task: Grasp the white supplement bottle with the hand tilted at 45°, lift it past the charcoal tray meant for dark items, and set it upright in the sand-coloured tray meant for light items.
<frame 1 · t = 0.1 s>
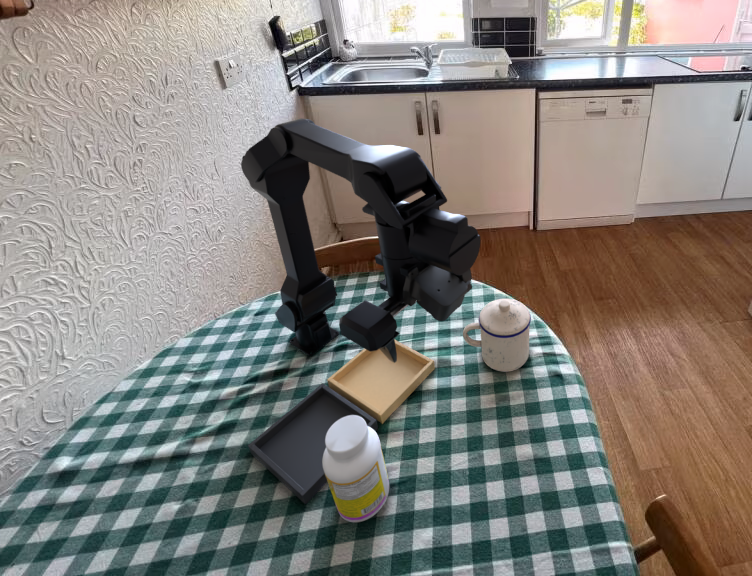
hand: (416, 339, 59), 15 cm above the table, tool pointing down, fingers open, 9 cm apart
dark tray: (316, 440, 61), on the table
light tray: (383, 377, 71), on the table
supplement bottle: (364, 497, 54), on the table
teacup with lid: (497, 354, 76), on the table
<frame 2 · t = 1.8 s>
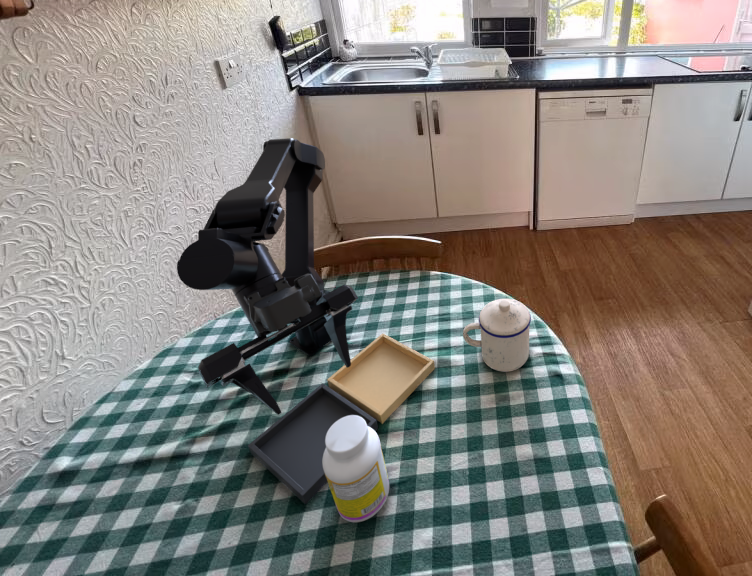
hand: (316, 388, 53), 13 cm above the table, tool tilted 45°, fingers open, 9 cm apart
nothing on the table moved.
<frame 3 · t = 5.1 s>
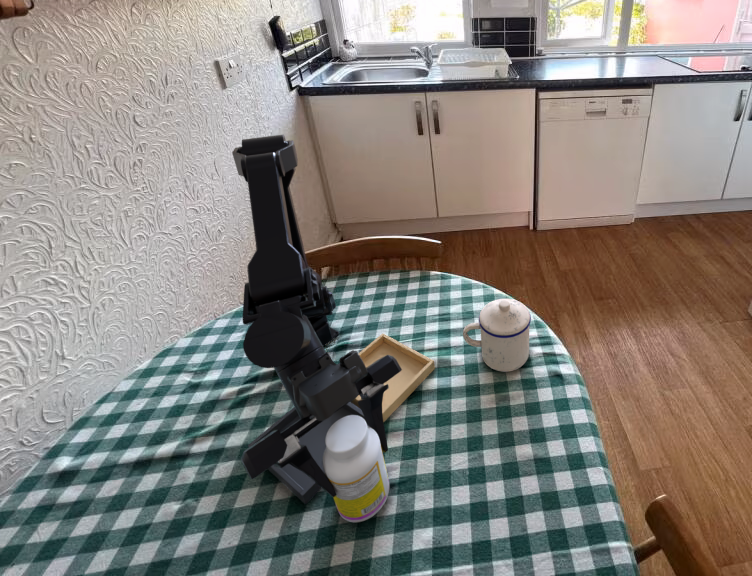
hand: (361, 472, 50), 7 cm above the table, tool tilted 45°, fingers closed on supplement bottle, 6 cm apart
supplement bottle: (364, 497, 54), on the table, touching gripper
everything else where it was.
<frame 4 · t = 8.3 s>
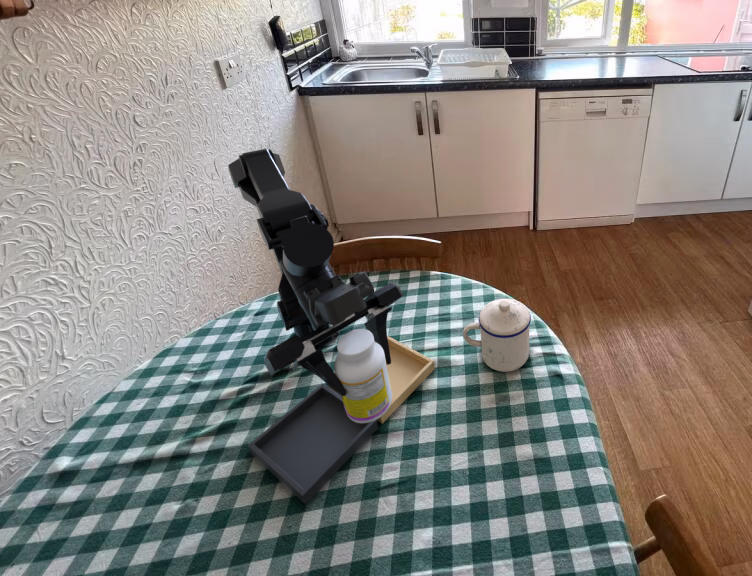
hand: (367, 379, 57), 11 cm above the table, tool tilted 45°, fingers closed on supplement bottle, 6 cm apart
supplement bottle: (369, 405, 61), point 4 cm above the table, touching gripper
everything else where it was.
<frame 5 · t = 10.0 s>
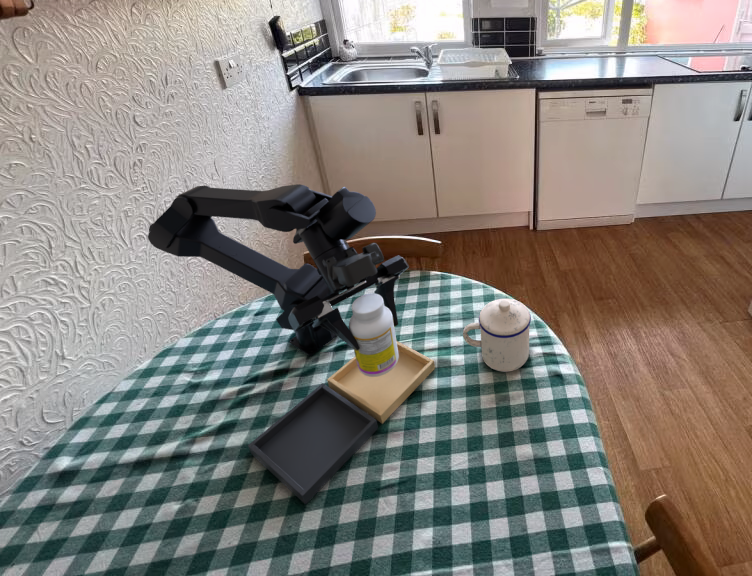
hand: (377, 337, 66), 10 cm above the table, tool tilted 45°, fingers closed on supplement bottle, 6 cm apart
supplement bottle: (378, 363, 69), point 3 cm above the table, touching gripper
everything else where it was.
when the fingers open (7 cm above the table, at t = 11.5 s): supplement bottle stays where it is, resting on light tray.
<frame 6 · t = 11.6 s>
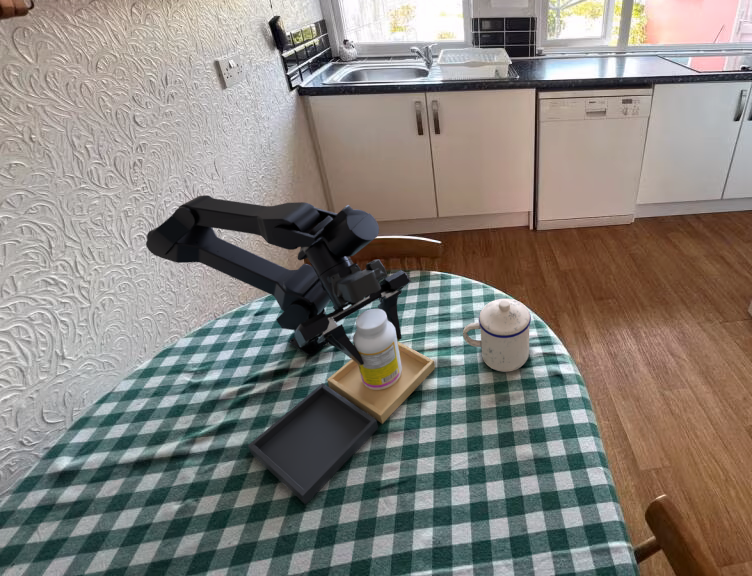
hand: (381, 351, 67), 7 cm above the table, tool tilted 45°, fingers open, 7 cm apart
supplement bottle: (382, 376, 71), resting on light tray
everything else where it was.
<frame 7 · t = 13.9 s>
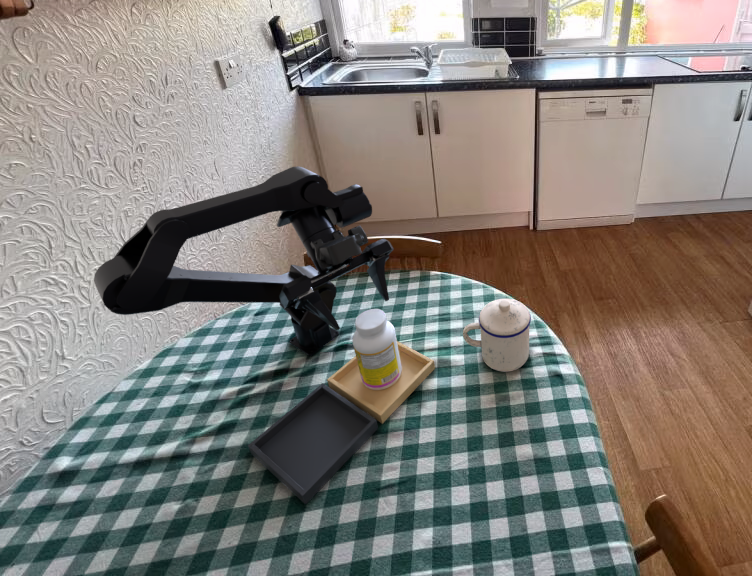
hand: (364, 314, 70), 11 cm above the table, tool tilted 45°, fingers open, 9 cm apart
nothing on the table moved.
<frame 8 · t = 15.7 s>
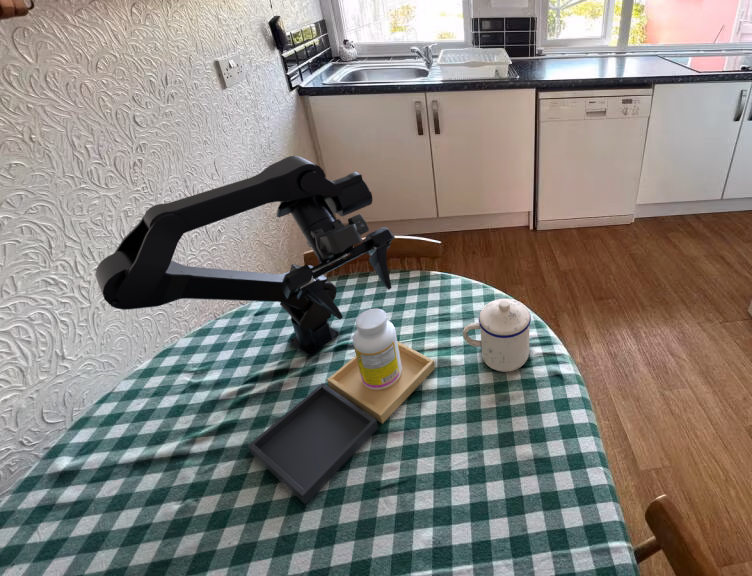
hand: (366, 303, 70), 13 cm above the table, tool tilted 45°, fingers open, 9 cm apart
nothing on the table moved.
at the end: supplement bottle inside the target area in the light tray (0.1 cm from its centre), point 0.2 cm above the light tray's base; supplement bottle tilted 0°; the gripper is holding nothing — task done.
